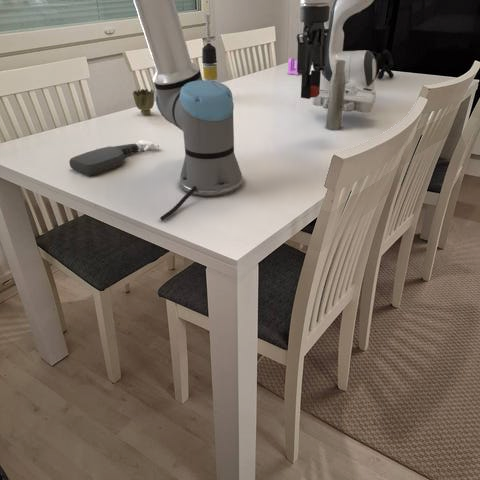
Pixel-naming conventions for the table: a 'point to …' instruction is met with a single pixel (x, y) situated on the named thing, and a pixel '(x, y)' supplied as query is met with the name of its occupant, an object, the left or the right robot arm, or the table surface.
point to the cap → (314, 91)
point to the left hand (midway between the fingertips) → (310, 95)
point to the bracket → (292, 66)
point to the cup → (144, 100)
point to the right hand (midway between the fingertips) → (334, 107)
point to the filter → (209, 57)
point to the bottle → (336, 96)
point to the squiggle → (381, 63)
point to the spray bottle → (106, 157)
